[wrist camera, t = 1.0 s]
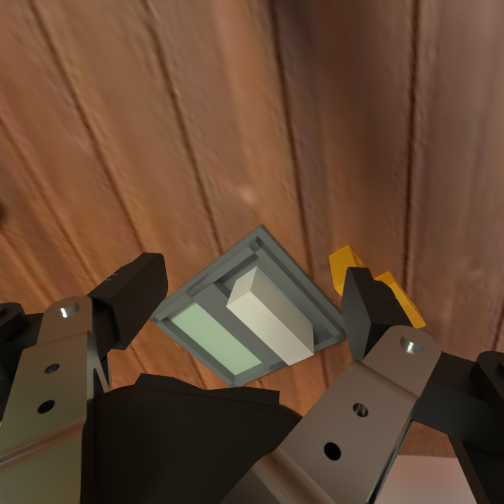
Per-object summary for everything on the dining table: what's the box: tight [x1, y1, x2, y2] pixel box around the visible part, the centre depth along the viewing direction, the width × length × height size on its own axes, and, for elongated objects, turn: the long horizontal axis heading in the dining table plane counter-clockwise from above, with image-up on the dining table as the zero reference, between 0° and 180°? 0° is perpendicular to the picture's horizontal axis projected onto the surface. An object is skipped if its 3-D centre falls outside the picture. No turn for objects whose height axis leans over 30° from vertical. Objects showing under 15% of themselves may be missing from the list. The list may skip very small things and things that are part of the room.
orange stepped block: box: [329, 244, 426, 329], centre depth 29 cm, size 12×4×6 cm, turn 41°
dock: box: [151, 224, 346, 388], centre depth 35 cm, size 22×18×6 cm
